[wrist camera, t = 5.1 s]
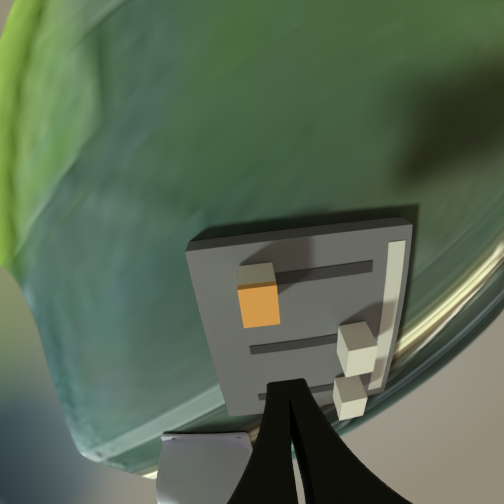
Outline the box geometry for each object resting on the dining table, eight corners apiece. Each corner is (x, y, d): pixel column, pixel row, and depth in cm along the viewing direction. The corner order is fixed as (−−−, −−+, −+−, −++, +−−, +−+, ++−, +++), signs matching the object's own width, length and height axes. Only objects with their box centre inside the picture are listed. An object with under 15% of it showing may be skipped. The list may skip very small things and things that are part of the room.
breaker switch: (243, 301, 19) (243, 328, 17) (237, 266, 18) (237, 290, 16) (275, 298, 19) (280, 324, 17) (272, 262, 18) (276, 285, 16)
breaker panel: (229, 403, 26) (229, 441, 22) (189, 241, 19) (176, 274, 15) (378, 380, 25) (393, 414, 22) (402, 216, 19) (435, 241, 15)
